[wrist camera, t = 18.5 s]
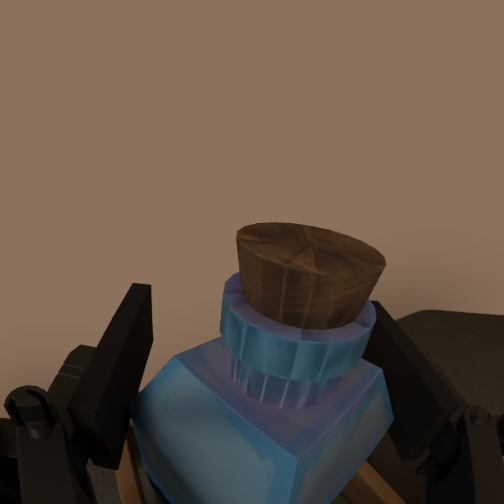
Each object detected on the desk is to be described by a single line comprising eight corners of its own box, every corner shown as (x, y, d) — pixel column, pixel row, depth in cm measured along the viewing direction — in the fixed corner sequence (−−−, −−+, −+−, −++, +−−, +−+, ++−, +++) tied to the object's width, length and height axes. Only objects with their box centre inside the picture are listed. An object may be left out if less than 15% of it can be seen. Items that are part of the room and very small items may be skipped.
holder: (175, 616, 4) (167, 620, 3) (117, 444, 13) (105, 411, 12) (383, 534, 8) (415, 512, 7) (285, 412, 17) (296, 378, 16)
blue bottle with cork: (150, 484, 10) (107, 220, 6) (246, 429, 14) (287, 203, 10) (246, 576, 6) (404, 407, 2) (337, 494, 10) (466, 265, 6)
